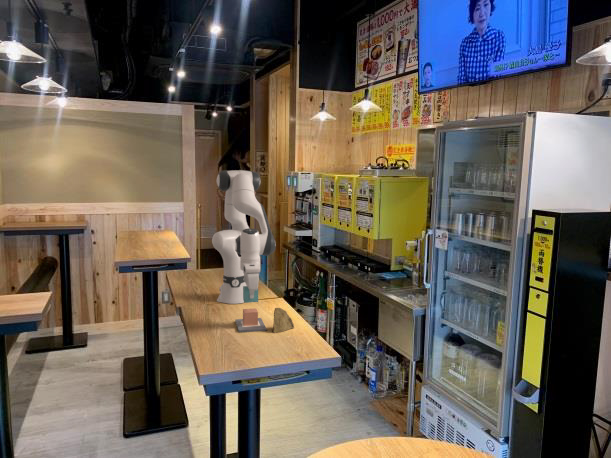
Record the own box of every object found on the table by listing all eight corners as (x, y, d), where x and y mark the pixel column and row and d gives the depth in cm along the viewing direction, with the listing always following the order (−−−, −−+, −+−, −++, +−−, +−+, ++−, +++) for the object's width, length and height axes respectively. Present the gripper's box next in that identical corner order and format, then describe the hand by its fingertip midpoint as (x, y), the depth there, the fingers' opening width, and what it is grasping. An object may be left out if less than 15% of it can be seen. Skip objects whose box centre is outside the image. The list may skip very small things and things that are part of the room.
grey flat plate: (235, 321, 213) (235, 319, 213) (261, 319, 216) (261, 317, 216) (238, 332, 198) (238, 330, 198) (266, 330, 201) (266, 328, 201)
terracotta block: (242, 321, 209) (242, 309, 209) (256, 321, 211) (256, 308, 210) (244, 325, 203) (244, 312, 203) (257, 325, 205) (257, 312, 204)
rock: (294, 319, 209) (272, 317, 208) (297, 308, 204) (274, 305, 202) (293, 340, 201) (270, 337, 200) (296, 329, 196) (273, 326, 194)
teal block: (243, 299, 208) (243, 286, 207) (256, 298, 209) (256, 285, 209) (244, 302, 202) (244, 289, 202) (258, 301, 204) (258, 288, 203)
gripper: (240, 261, 213) (241, 291, 215) (245, 270, 194) (246, 302, 195) (254, 261, 215) (254, 290, 216) (260, 269, 195) (260, 301, 197)
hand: (250, 296), depth 206 cm, fingers closed on teal block, 6 cm apart
